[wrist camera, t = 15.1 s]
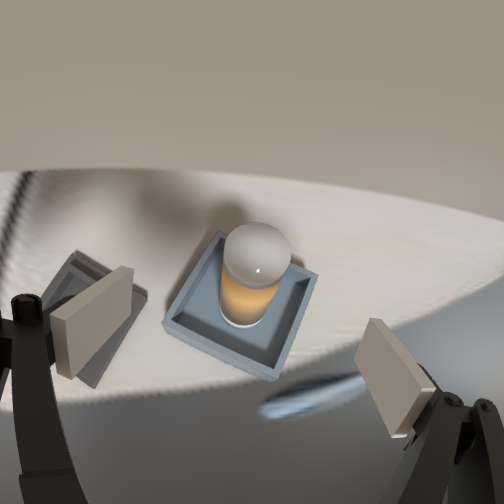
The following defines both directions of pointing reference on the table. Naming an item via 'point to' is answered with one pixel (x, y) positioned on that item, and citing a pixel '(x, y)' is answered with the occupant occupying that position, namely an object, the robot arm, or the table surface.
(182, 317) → the parts tray
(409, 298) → the table surface
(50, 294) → the block
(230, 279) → the ball
